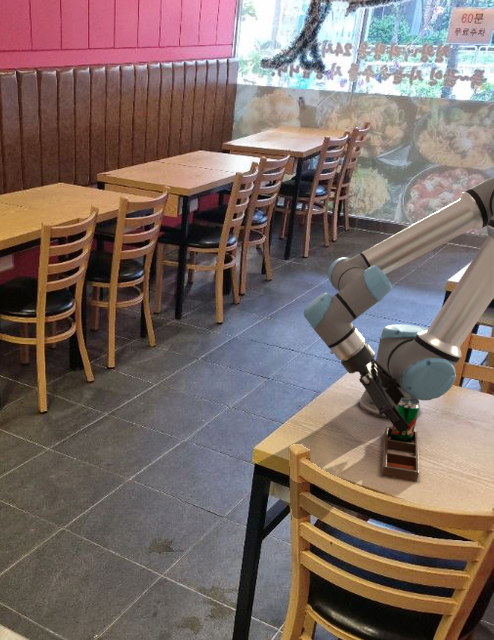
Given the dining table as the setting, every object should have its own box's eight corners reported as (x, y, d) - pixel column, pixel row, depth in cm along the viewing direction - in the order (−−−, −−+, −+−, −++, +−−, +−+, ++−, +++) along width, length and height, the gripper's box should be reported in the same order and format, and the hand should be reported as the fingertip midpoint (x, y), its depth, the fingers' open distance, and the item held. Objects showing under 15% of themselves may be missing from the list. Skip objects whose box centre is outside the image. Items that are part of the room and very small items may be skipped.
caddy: (383, 435, 189) (385, 426, 188) (415, 440, 187) (417, 431, 186) (381, 476, 171) (383, 466, 170) (416, 481, 169) (419, 472, 168)
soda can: (407, 440, 187) (418, 396, 181) (412, 449, 182) (423, 405, 176) (387, 439, 187) (396, 395, 181) (391, 448, 183) (401, 404, 177)
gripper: (343, 343, 190) (392, 405, 193) (335, 379, 169) (390, 448, 173) (368, 326, 185) (418, 390, 189) (363, 360, 165) (419, 431, 169)
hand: (405, 418), depth 181 cm, fingers open, 13 cm apart
